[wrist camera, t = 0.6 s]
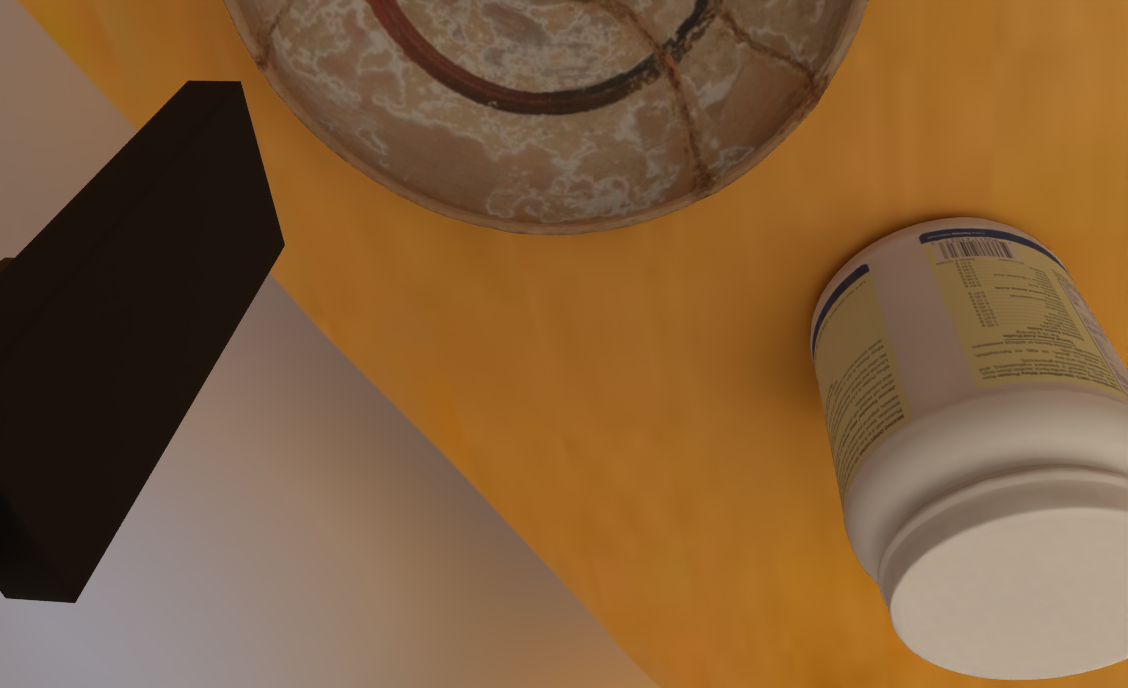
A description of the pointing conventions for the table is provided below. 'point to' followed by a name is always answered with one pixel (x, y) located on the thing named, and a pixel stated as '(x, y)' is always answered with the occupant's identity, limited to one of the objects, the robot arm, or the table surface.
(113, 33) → the table surface
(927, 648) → the supplement tub
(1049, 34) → the table surface
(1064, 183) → the table surface
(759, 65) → the ceramic bowl
